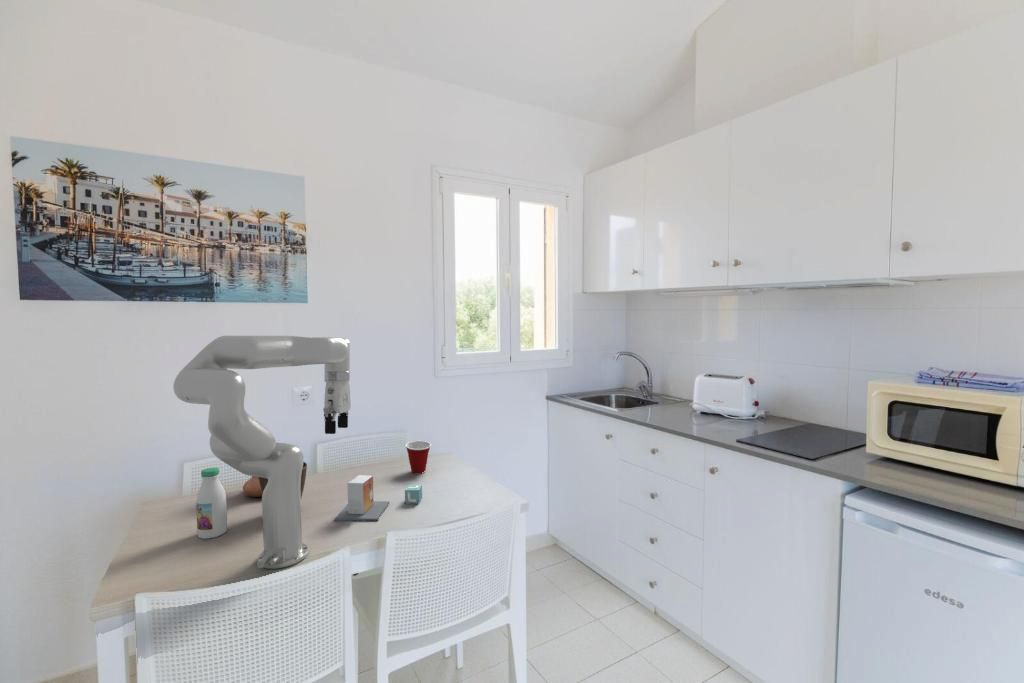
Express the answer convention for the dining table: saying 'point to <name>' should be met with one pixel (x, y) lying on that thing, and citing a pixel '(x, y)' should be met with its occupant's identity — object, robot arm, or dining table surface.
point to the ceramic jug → (252, 487)
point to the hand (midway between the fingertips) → (336, 430)
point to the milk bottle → (211, 505)
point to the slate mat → (368, 515)
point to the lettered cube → (413, 494)
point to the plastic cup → (418, 455)
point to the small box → (360, 494)
